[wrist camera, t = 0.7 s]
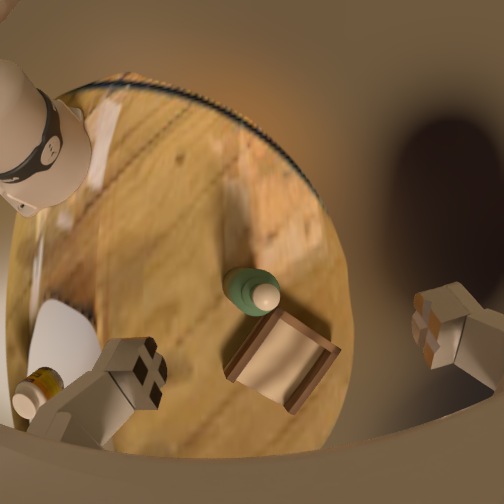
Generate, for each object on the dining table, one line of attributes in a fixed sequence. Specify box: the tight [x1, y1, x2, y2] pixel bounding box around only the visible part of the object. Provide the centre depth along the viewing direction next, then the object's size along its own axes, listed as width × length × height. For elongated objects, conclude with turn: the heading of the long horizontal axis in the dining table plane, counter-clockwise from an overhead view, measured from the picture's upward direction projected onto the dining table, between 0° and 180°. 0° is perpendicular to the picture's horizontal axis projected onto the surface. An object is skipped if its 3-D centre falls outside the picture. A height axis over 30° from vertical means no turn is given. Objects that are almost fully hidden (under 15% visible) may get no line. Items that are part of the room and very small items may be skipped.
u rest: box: [223, 306, 341, 415], centre depth 44 cm, size 12×12×4 cm
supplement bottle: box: [12, 367, 64, 419], centre depth 33 cm, size 6×6×10 cm
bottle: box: [223, 267, 280, 316], centre depth 37 cm, size 5×5×15 cm
